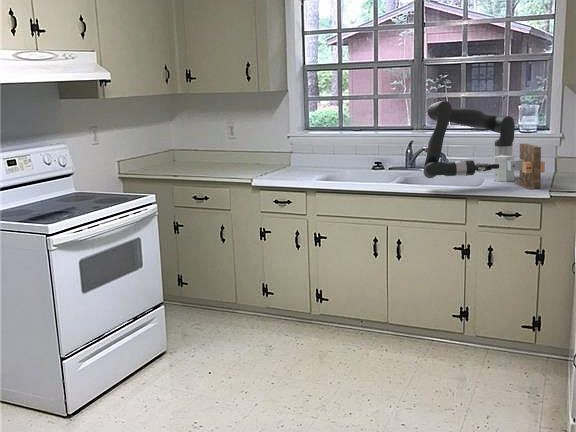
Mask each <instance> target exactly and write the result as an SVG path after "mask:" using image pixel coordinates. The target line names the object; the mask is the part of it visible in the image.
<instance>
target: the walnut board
mask: <svg viewBox="0 0 576 432" xmlns="http://www.w3.org/2000/svg"><path fill="white" fill-rule="evenodd" d="M541 157H542V147H541V146H538V145H532V144H529V143H520V144H519V159H524V160H525V162H530V161H531V162H533V173H523V172H522V170H521V171H519V181H514V184H516V185H517V186H521V187H523V188H525V189H527V190H540V189H541V175H542V174H541V173H542V172H541V161H542V158H541Z"/></svg>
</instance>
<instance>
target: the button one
mask: <svg viewBox="0 0 576 432" xmlns="http://www.w3.org/2000/svg"><path fill="white" fill-rule="evenodd" d="M522 162H525V160H524V159H520V158H519V159H517V158H516V159H514V160H507V170H509V171H514V172H517V171H519V172H520V171H521V170H522Z"/></svg>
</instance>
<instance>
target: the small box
mask: <svg viewBox="0 0 576 432" xmlns="http://www.w3.org/2000/svg"><path fill="white" fill-rule="evenodd" d="M493 159H494V163H493V164H499V169H493V170H494V172H493V175H494V176H493V177H494V179H493V180H494V182H505V183H508V182H513V181H515V171H509V170H507V160H515V156H514V155H512V156H504V155H501V156H495V155H494V158H493Z"/></svg>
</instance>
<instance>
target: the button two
mask: <svg viewBox="0 0 576 432" xmlns="http://www.w3.org/2000/svg"><path fill="white" fill-rule="evenodd" d="M545 164H546V162H545V161H543V160H541V173H545V172H546V169H545V168H546V165H545ZM522 172H523V173H533V162H531V161H530V162H522Z"/></svg>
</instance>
